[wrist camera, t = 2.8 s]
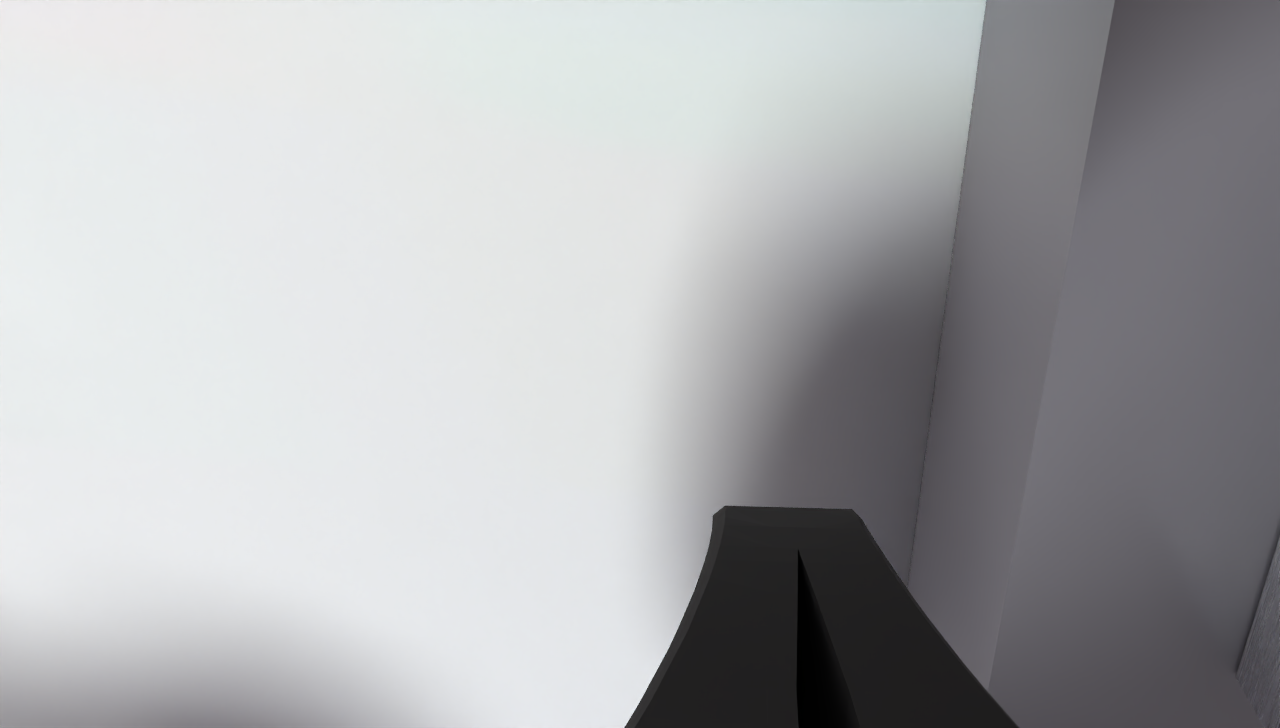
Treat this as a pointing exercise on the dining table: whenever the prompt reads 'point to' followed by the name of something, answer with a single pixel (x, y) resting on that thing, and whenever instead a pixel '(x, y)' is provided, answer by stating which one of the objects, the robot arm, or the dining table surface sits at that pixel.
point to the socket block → (1110, 364)
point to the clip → (1264, 651)
